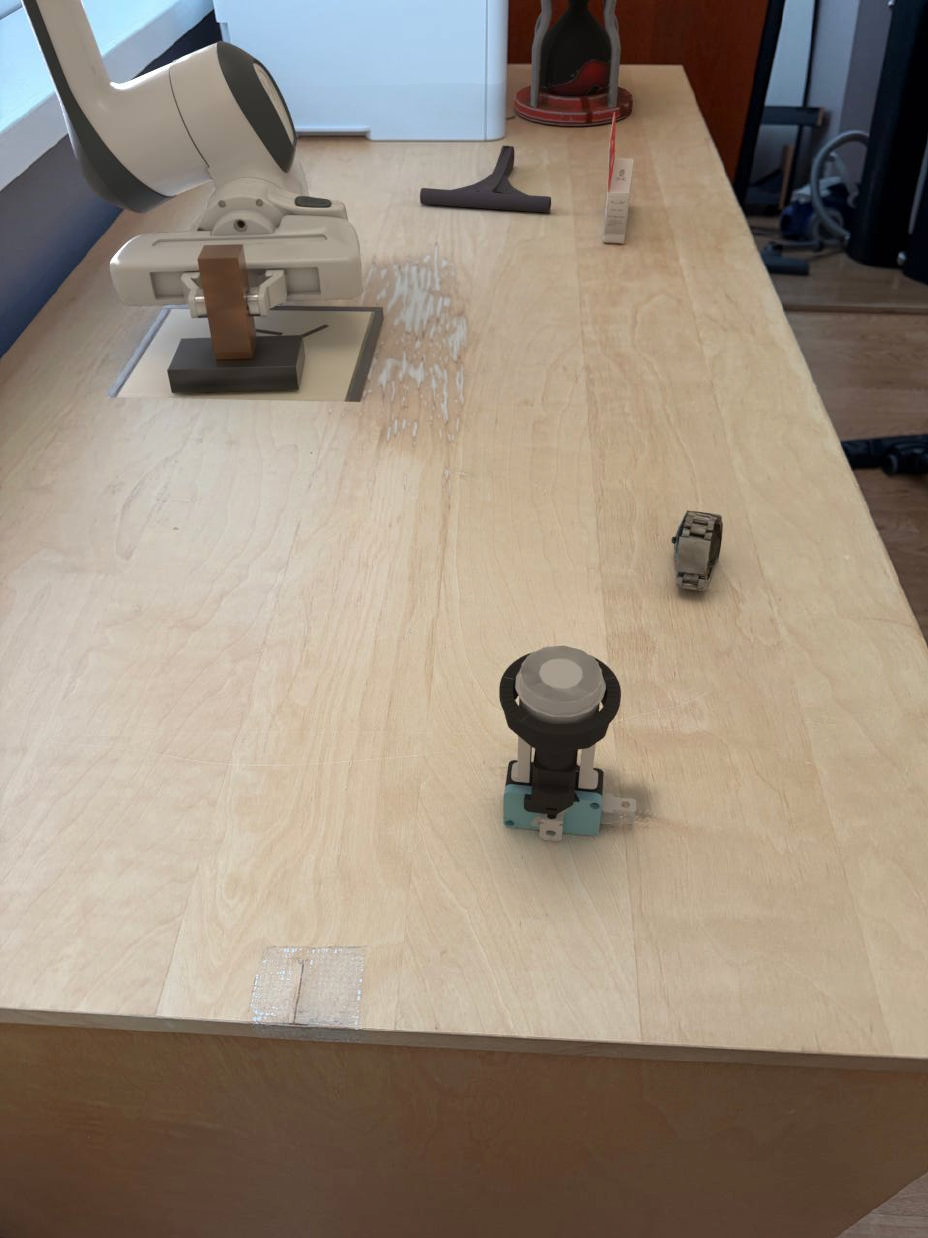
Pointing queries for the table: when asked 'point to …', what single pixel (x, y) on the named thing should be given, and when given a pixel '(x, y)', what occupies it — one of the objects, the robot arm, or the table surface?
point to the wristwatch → (697, 549)
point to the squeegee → (490, 191)
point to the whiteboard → (329, 334)
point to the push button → (559, 742)
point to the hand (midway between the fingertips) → (228, 308)
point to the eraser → (233, 337)
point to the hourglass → (575, 69)
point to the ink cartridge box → (617, 194)
